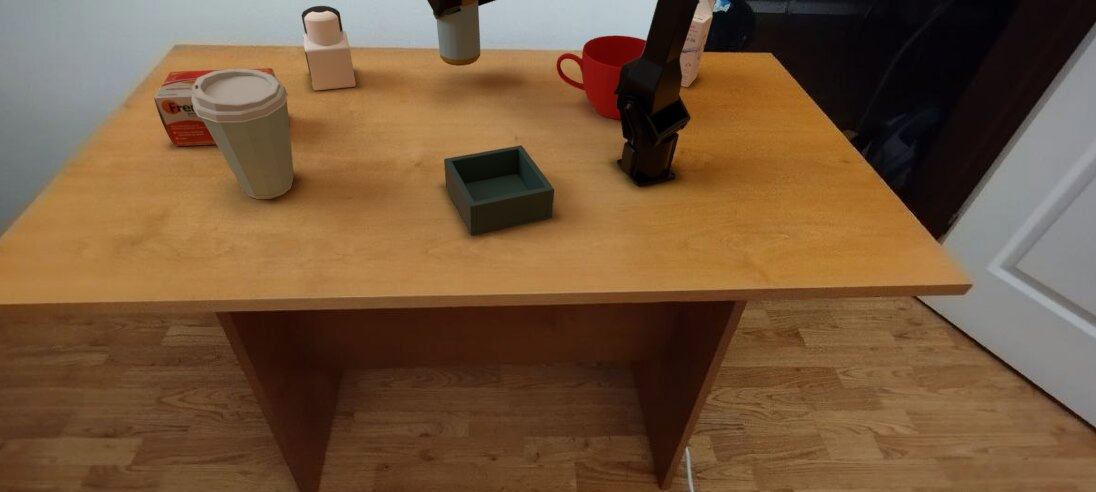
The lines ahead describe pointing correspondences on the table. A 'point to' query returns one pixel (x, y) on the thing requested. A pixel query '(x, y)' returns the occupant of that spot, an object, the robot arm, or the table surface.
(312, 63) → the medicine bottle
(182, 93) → the medicine box
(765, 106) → the table surface
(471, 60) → the bottle
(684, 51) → the ink cartridge box
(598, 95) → the ceramic cup
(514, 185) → the box
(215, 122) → the disposable coffee cup
